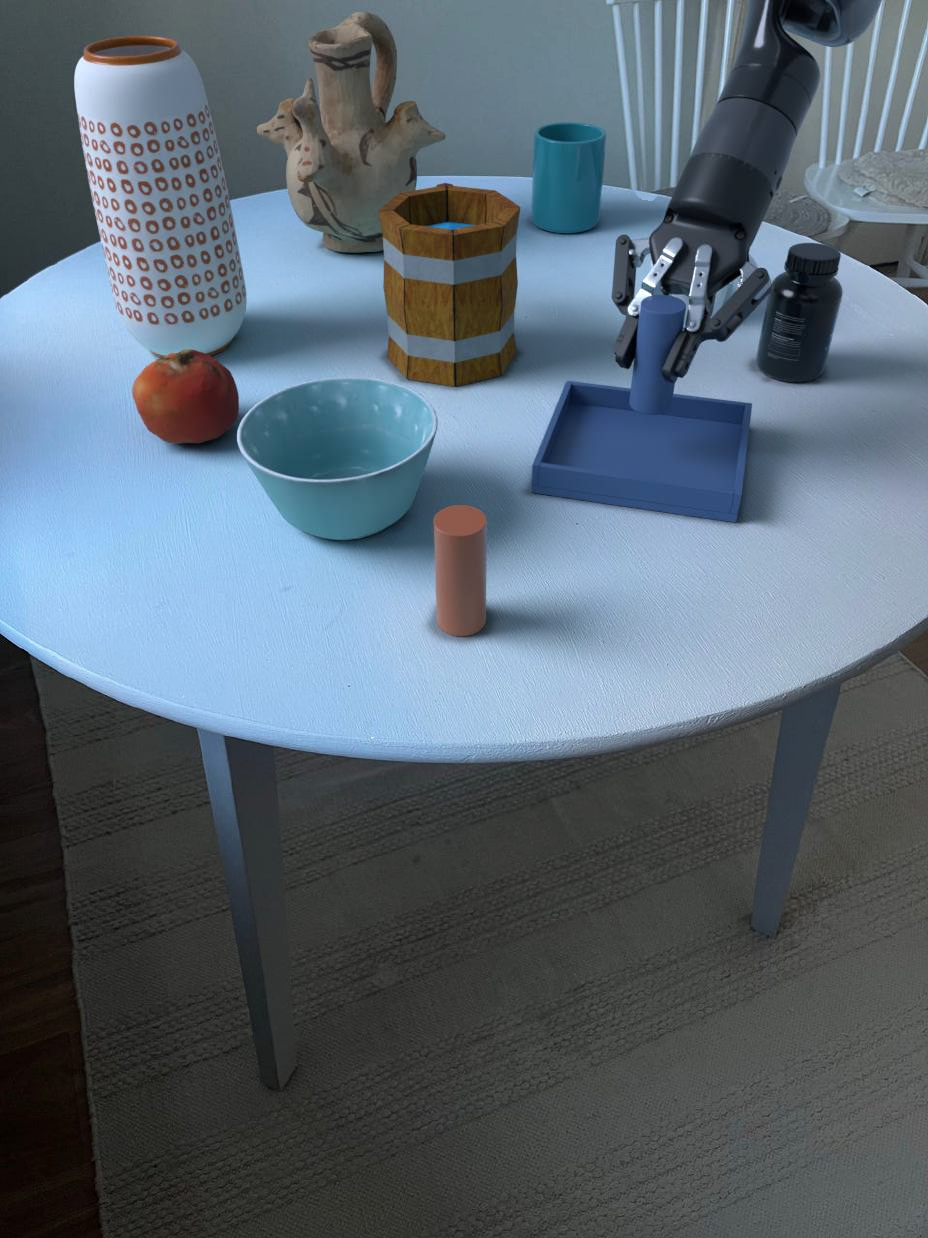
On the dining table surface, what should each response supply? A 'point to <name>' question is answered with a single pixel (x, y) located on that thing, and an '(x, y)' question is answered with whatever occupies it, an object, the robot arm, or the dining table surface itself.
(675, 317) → the blue peg
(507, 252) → the wooden banded barrel
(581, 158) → the cup
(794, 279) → the supplement bottle
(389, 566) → the dining table surface
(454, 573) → the terracotta peg
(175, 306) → the vase
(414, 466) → the bowl
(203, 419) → the red round fruit
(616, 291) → the robot arm
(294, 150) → the ceramic vessel
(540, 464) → the blue tray
